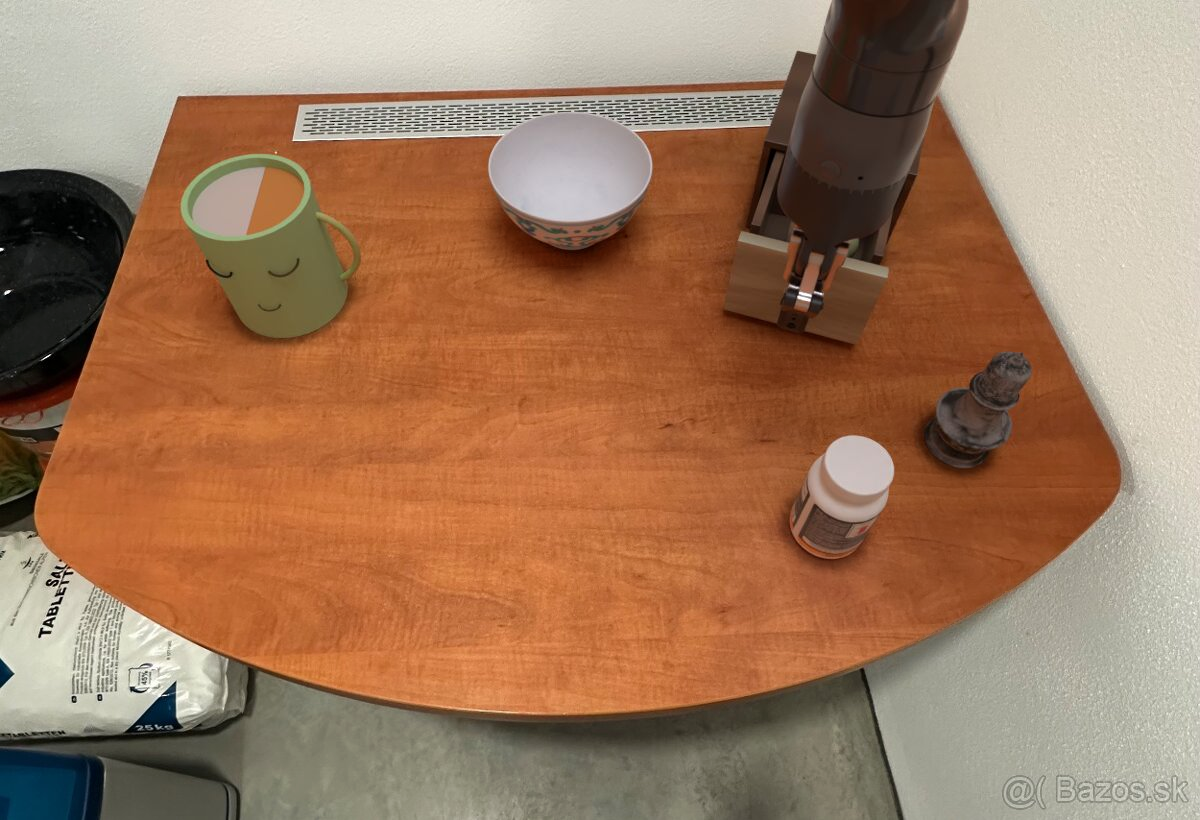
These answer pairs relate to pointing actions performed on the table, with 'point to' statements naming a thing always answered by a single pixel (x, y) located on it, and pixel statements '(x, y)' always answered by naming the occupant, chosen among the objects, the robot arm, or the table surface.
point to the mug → (269, 243)
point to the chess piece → (978, 412)
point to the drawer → (766, 259)
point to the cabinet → (783, 129)
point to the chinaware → (570, 177)
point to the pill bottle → (842, 497)
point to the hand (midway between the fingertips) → (791, 323)
